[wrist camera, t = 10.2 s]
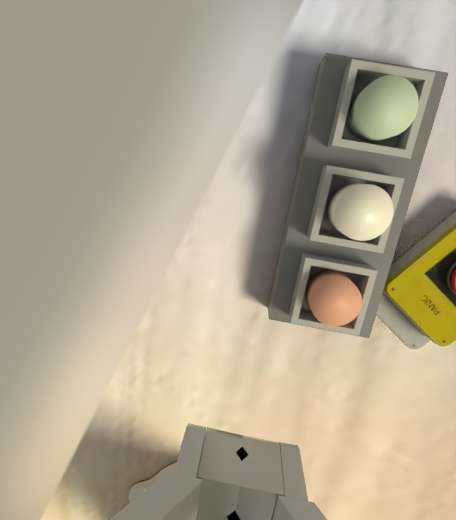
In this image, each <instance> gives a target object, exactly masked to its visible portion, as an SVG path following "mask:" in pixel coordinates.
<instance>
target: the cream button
mask: <svg viewBox="0 0 456 520" xmlns="http://www.w3.org/2000/svg"><path fill="white" fill-rule="evenodd" d="M393 211H394V210H393V203H392V200H391V198H390V196H389V195H388V193H387V192H386V191H384V190H383V189H382V188H380V187H378V186H375V185H370V184H349V185H346V186H344V187H342V188H340V189H339V190H338V191H337V192H335V194H334V195H333V196H332V198H331V200H330V202H329V205H328V217H329V220H330V222H331V224H332V225H333V227H334V228H335V229H336V230H338V231H339V232H341V233H342V234H344V235H346V236H347V237H349V238H351V239H354V240H358V241H366V240H371V239H374V238H376V237H378V236H379V235H381V234H382V233H383V232H384V231H385V230H386V229H387V228H388V226H389V225H390V223H391V221H392V218H393Z"/></svg>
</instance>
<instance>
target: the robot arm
mask: <svg viewBox="0 0 456 520" xmlns="http://www.w3.org/2000/svg"><path fill="white" fill-rule="evenodd" d="M205 433H206V434H205ZM128 499H129V504H128V505H127V506H125V507H124V508H123V509H122V510H121V511H119V512H118V513H117V514H116V515H114V516H113V517H112V518H111V519H109V520H327V519H326V517H325V516H324V515H323V513H322V512H321V511H320V510H319V508H318V507H317V506H316V504H315V503H313V502H308V497H307V491H306V485H305V479H304V473H303V467H302V461H301V455H300V449H299V447H298V446H297V445H292V444H286V443H281V442H279V443H278V442H273V441H268V440H263V439H258V438H253V437H248V436H243V435H238V434H234V433H230V432H225V431H221V430H217V429H212V428H208V427H207V430H206V427H202V426H198V425H193V424H188V425H187V427H186V431H185V434H184V438H183V441H182V445H181V449H180V452H179V456H178V459H177V462H176V463H174V464H171V465H169V466H167V467H165V468H164V469H162V470H161V471H160V472H159V473H158V474H156V475H155V476H154V477H153V478H151V479H150V480H147V481H143V482H140V483H137V484H135V485H133V486H132V487H131V489H130V492H129V496H128Z"/></svg>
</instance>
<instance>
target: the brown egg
mask: <svg viewBox="0 0 456 520" xmlns="http://www.w3.org/2000/svg"><path fill="white" fill-rule="evenodd" d="M306 298H307V301H308V303H309V306H310V308H311V310H312V313H313V315H314V316H315V317H316V319H318V320H319V321H320V322H321V323H323V324H326V325H329V326H342V325H345V324H347V323H349V322H351V321H352V320H353V319H355V318H356V316H357V315H358V314H359V312H360V310H361V307H362V296H361V293H360V291H359V289H358V288H357V287H356V286H355V285H354V283H353V282H352V281H351V280H350V279H349V278H348V277H347V276H346V275H345V274H343V273H342V272H340V271H337V270H332V269H328V270H323V271H320V272H318V273H316V274H315V275H314V276H312V277H311V279H310V280H309V282H308V284H307V286H306Z"/></svg>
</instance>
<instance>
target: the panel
mask: <svg viewBox="0 0 456 520" xmlns="http://www.w3.org/2000/svg"><path fill="white" fill-rule="evenodd" d="M386 75H398V76H401V77H404V78H406V79H407V80H409V81H410V82H411V83H412V84H413V86H414V87H415V89H416V91H417V94H418V99H419V105H418V111H417V114H416V117H415V119H414V120H413V122H412V123H411V125H410V126H409V127H408V128H407V129H406V130H405V131H403V132H402V133H400V134H398V135H396V136H393V137H390V138H386V139H383V140H380V141H375V142H368V141H364V140H362V139H360V138H358V137H357V136H356V135H355V134H354V133H353V132H352V131H351V129H350V126H349V123H348V110H349V107H350V104H351V102H352V101H353V99H354V98H355V96H356V95H357V94H358V93H360V92H361V91H362V90H363V89H364V88H366V87H367V86H368V85H369V84H370V83H372V82H373V81H374V80H376V79H378V78H380V77H382V76H386ZM447 76H448V73H446V72H440V71H433V70H427V69H421V68H415V67H409V66H402V65H396V64H390V63H384V62H377V61H371V60H365V59H359V58H352V57H346V56H340V55H334V54H328V53H326V55H325V56H324V58H323V60H322V62H321V64H320V66H319V70H318V75H317V80H316V84H315V89H314V94H313V98H312V103H311V108H310V113H309V117H308V122H307V127H306V131H305V136H304V141H303V145H302V150H301V155H300V160H299V164H298V169H297V174H296V178H295V183H294V188H293V192H292V197H291V202H290V206H289V211H288V216H287V221H286V225H285V230H284V235H283V239H282V244H281V249H280V253H279V258H278V263H277V267H276V272H275V277H274V282H273V286H272V291H271V296H270V300H269V305H268V314H269V319H271V320H277V321H282V322H287V323H291V324H296V325H301V326H307V327H312V328H317V329H322V330H328V331H333V332H338V333H343V334H349V335H354V336H361V337H366V338H369V337H370V333H371V330H372V327H373V323H374V320H375V317H376V313H377V310H378V306H379V303H380V300H381V296H382V293H383V290H384V286H385V283H386V280H387V276H388V273H389V270H390V266H391V263H392V260H393V256H394V253H395V250H396V246H397V243H398V240H399V236H400V233H401V230H402V226H403V223H404V219H405V216H406V213H407V209H408V206H409V203H410V199H411V196H412V193H413V189H414V186H415V183H416V179H417V176H418V173H419V169H420V166H421V163H422V159H423V156H424V153H425V149H426V146H427V142H428V139H429V136H430V132H431V129H432V126H433V122H434V119H435V116H436V112H437V109H438V106H439V102H440V99H441V96H442V92H443V89H444V86H445V82H446V79H447ZM349 184H370V185H375V186H378V187H380V188H382V189H383V190H384V191H386V192H387V193H388V195H389V196H390V198H391V200H392V203H393V210H394V211H393V218H392V221H391V223H390V225H389V226H388V228H387V229H386V230H385V231H384V232H383V233H382V234H381V235H379V236H378V237H376V238H374V239H371V240H366V241H358V240H354V239H351V238H349V237H347V236H346V235H344V234H342V233H341V232H339V231H338V230H336V229H335V228H334V227H333V225H332V224H331V222H330V220H329V217H328V205H329V202H330V200H331V198H332V196H333V195H334V194H335V192H337V191H338V190H339V189H340V188H342V187H344V186H346V185H349ZM328 269H332V270H337V271H340V272H342V273H343V274H345V275H346V276H347V277H348V278H349V279H350V280H351V281H352V282H353V283H354V285H355V286H356V287H357V288H358V289H359V291H360V293H361V296H362V307H361V310H360V312H359V314H358V315H357V316H356V318H355V319H353V320H352V321H351V322H349V323H347V324H345V325H342V326H329V325H326V324H323V323H321V322H320V321H319V320H318V319H316V317H315V316H314V315H313V313H312V310H311V308H310V306H309V303H308V301H307V298H306V286H307V284H308V282H309V280H310V279H311V277H312V276H314V275H315V274H316V273H318V272H320V271H323V270H328Z"/></svg>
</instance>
